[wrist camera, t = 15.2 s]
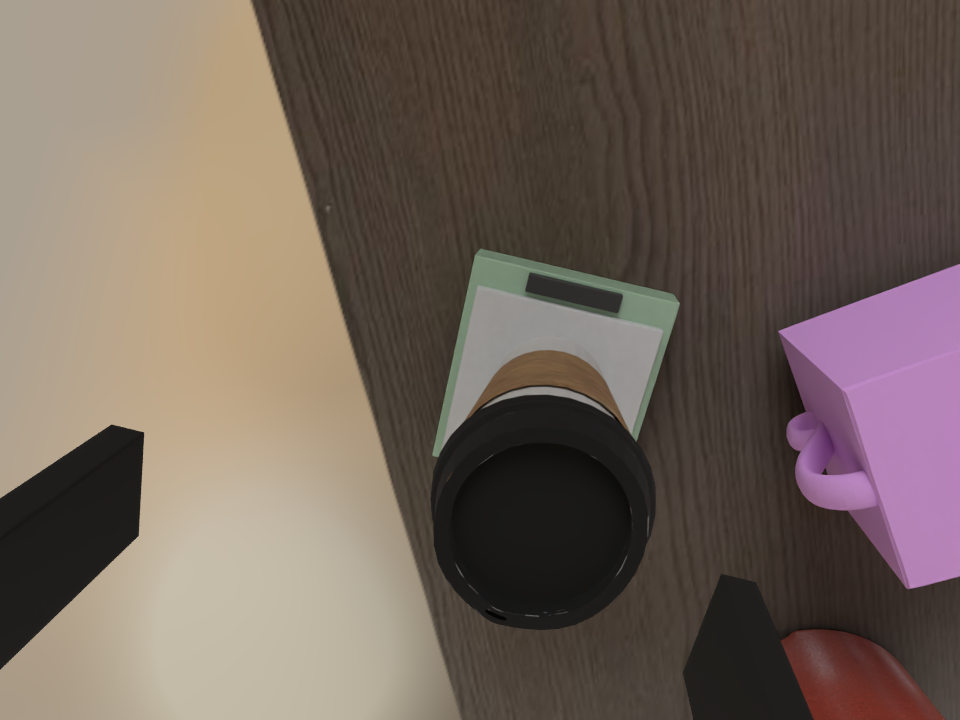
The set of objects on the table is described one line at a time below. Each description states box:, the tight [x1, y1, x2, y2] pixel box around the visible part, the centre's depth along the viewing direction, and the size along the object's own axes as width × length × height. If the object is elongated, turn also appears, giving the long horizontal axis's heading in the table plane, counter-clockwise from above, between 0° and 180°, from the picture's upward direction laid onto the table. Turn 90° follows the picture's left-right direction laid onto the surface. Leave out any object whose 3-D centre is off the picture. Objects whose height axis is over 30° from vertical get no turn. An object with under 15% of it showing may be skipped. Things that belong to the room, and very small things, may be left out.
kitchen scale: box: [432, 249, 680, 457], centre depth 40 cm, size 11×12×3 cm
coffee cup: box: [431, 336, 656, 630], centre depth 31 cm, size 8×8×15 cm
